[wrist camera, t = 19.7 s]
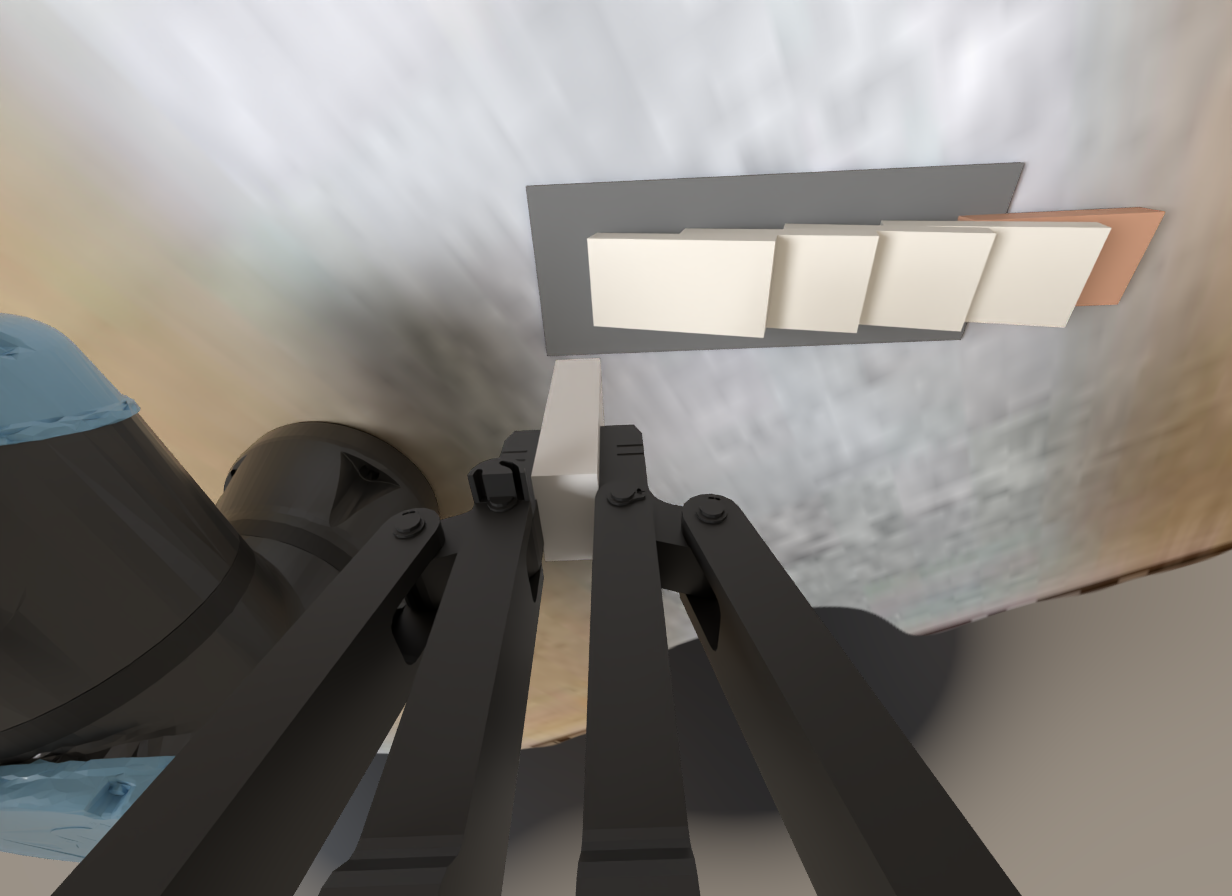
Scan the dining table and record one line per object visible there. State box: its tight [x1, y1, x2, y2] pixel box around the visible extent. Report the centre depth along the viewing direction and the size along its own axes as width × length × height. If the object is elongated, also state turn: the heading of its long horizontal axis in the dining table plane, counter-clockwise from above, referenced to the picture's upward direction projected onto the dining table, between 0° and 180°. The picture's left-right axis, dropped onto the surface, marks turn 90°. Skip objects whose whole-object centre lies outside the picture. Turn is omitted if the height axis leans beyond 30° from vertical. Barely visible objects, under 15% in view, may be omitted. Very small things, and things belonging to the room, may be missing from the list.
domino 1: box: [587, 233, 777, 338], centre depth 28 cm, size 2×5×10 cm
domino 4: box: [880, 220, 1111, 328], centre depth 27 cm, size 2×5×10 cm
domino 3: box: [784, 224, 996, 332], centre depth 28 cm, size 2×5×10 cm
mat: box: [526, 162, 1024, 356], centre depth 30 cm, size 27×10×1 cm, turn 92°
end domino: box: [957, 207, 1165, 306], centre depth 29 cm, size 2×5×10 cm
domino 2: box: [680, 228, 879, 333], centre depth 28 cm, size 2×5×10 cm
